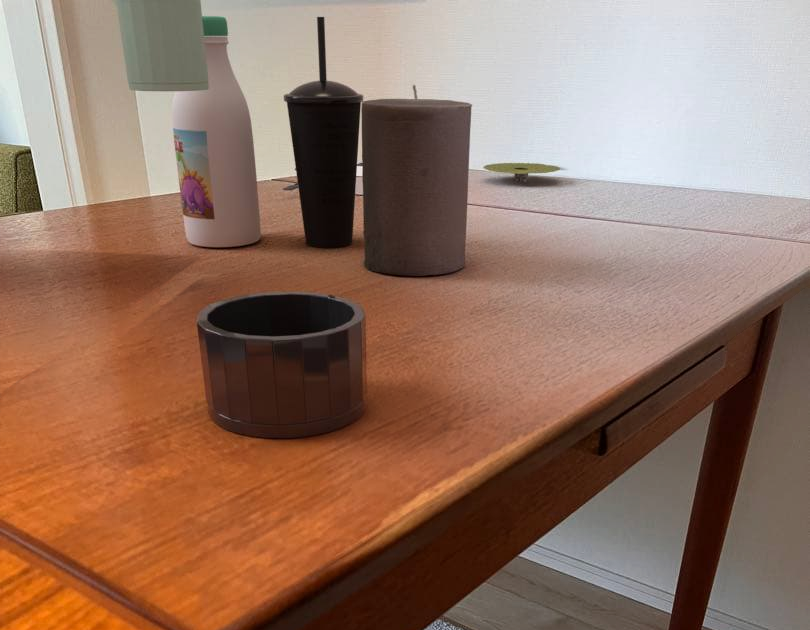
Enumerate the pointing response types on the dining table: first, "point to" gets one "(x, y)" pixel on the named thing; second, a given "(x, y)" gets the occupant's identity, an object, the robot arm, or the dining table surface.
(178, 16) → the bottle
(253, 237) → the milk bottle
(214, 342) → the holder
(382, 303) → the dining table surface
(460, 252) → the pillar candle
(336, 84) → the drinking cup
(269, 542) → the dining table surface
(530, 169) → the green disc on stem
